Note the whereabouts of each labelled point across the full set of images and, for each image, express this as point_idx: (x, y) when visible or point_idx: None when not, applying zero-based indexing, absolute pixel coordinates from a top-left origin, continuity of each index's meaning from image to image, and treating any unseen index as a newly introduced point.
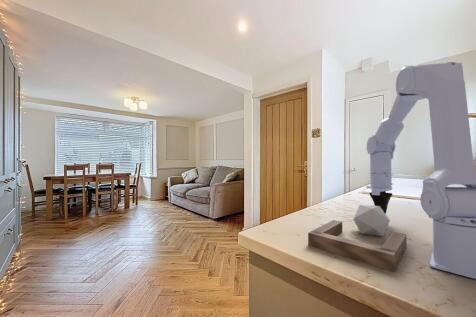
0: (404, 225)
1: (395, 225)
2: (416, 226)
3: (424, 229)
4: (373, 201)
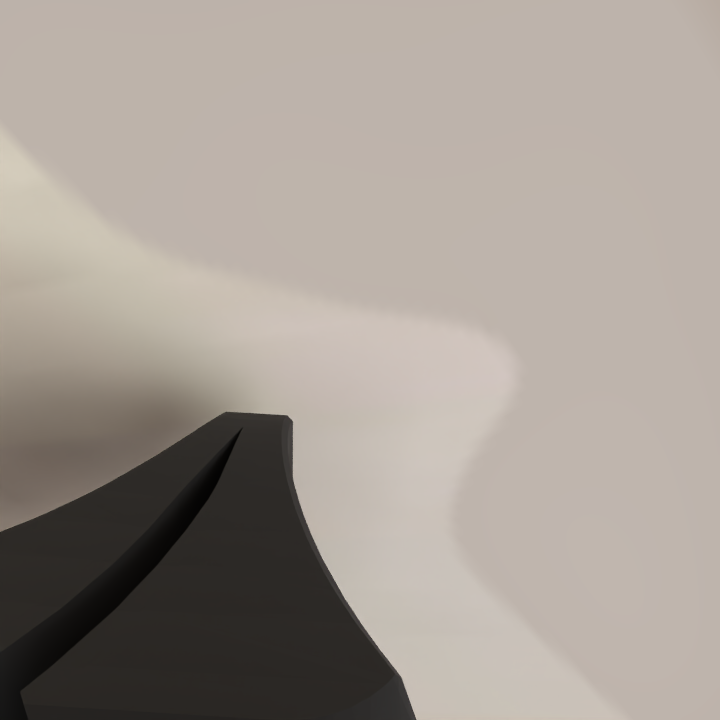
0: (387, 570)
1: (320, 510)
2: (424, 640)
3: None
4: (10, 531)
